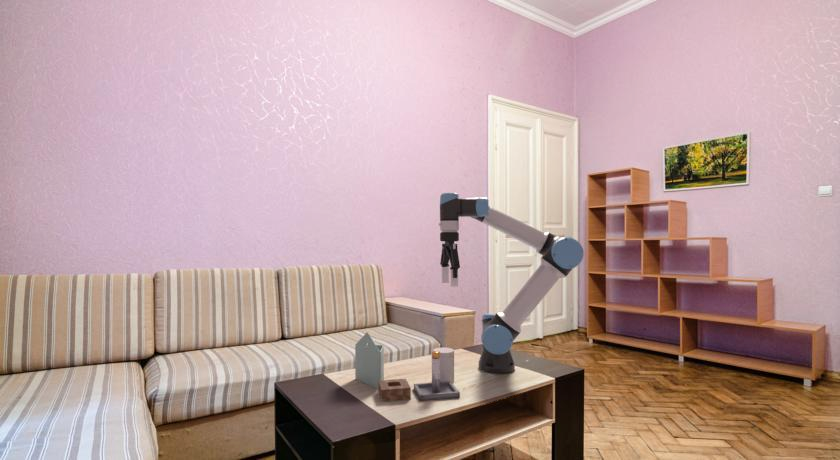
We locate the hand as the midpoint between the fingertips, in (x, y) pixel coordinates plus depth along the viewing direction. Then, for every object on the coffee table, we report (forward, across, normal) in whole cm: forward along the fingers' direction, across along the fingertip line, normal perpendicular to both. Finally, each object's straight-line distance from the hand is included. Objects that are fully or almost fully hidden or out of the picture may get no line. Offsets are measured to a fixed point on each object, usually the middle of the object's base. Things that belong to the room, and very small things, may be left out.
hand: (449, 284), depth 177 cm
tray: (+37, +17, -10) cm, 42 cm away
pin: (+36, +17, -10) cm, 41 cm away
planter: (+37, 0, -30) cm, 48 cm away
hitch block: (+37, +16, -25) cm, 47 cm away
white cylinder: (+37, +5, -4) cm, 37 cm away
